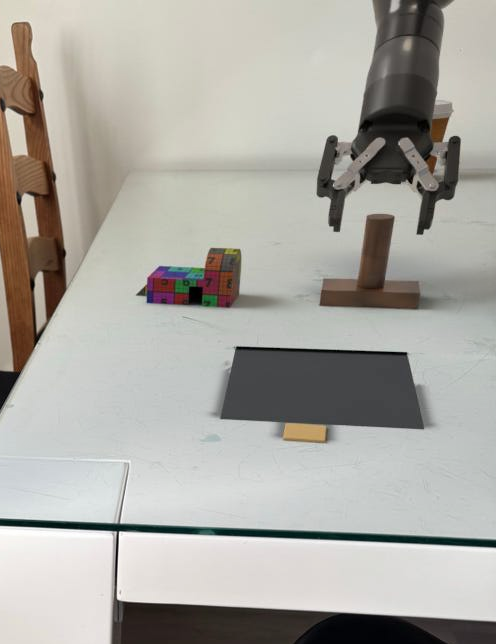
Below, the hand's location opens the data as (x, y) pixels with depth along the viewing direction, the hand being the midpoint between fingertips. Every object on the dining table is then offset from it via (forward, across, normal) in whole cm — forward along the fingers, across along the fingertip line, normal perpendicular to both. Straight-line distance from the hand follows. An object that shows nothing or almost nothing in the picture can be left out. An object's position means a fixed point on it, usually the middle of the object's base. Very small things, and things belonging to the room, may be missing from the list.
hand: (378, 229), depth 107 cm
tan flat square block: (+35, -3, -23) cm, 42 cm away
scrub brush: (+7, 0, +4) cm, 9 cm away
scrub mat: (+26, -3, -14) cm, 30 cm away
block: (+8, -20, +4) cm, 22 cm away
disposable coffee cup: (-54, +4, +66) cm, 86 cm away
